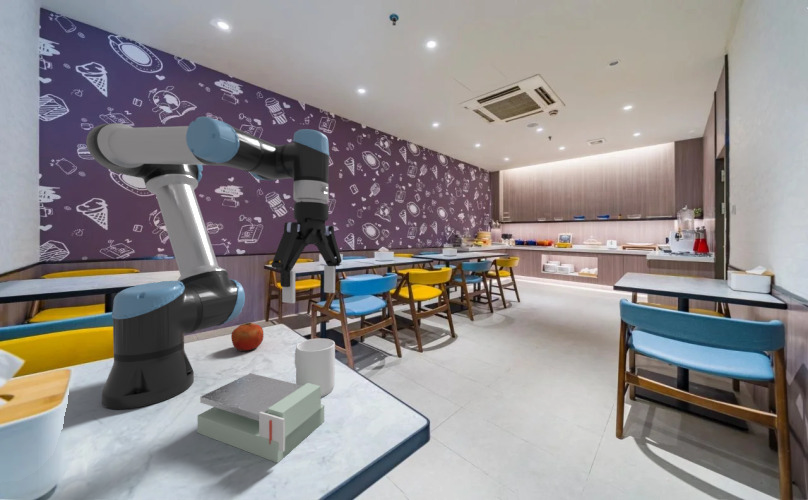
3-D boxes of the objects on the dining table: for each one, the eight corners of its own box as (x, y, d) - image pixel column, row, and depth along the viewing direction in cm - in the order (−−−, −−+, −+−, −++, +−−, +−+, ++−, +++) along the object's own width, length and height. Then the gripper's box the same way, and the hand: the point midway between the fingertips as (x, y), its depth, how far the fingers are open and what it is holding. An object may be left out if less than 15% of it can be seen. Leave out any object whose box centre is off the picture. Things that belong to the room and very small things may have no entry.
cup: (311, 403, 59) (311, 354, 59) (279, 385, 67) (279, 341, 67) (342, 387, 66) (342, 343, 66) (310, 373, 73) (310, 333, 73)
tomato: (241, 356, 84) (241, 328, 84) (224, 350, 89) (224, 324, 89) (271, 346, 92) (271, 321, 92) (254, 341, 97) (254, 317, 96)
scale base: (197, 432, 50) (197, 392, 50) (252, 400, 60) (252, 367, 60) (282, 464, 43) (282, 417, 43) (328, 422, 53) (328, 384, 53)
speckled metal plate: (200, 413, 50) (200, 396, 50) (250, 387, 60) (250, 373, 60) (260, 434, 45) (260, 415, 45) (304, 402, 54) (304, 386, 54)
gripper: (281, 192, 52) (281, 310, 53) (355, 208, 76) (354, 290, 76) (251, 194, 55) (251, 306, 56) (331, 209, 78) (330, 288, 79)
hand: (311, 297), depth 66 cm, fingers open, 13 cm apart
